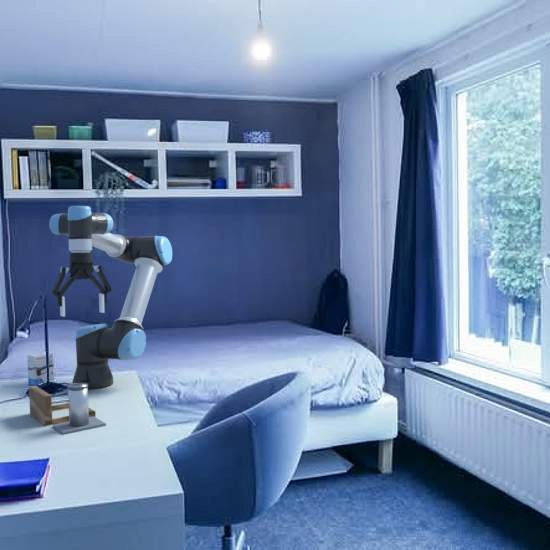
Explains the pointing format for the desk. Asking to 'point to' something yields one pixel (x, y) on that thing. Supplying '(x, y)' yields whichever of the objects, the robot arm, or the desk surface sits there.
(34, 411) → the frame
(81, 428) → the felt pad
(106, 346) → the robot arm
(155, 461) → the desk surface
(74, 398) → the canister
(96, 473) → the desk surface
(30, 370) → the ink box
